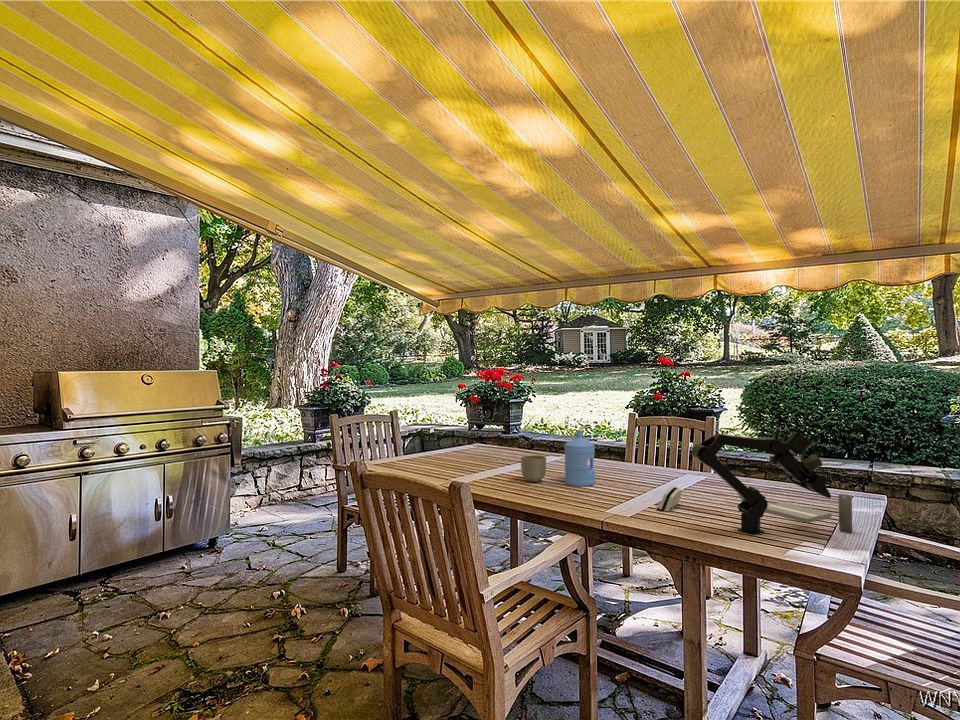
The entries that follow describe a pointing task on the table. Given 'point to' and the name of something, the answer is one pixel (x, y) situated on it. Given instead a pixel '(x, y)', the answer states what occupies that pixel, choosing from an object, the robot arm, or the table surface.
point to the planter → (533, 467)
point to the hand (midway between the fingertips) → (822, 494)
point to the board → (796, 512)
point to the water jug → (579, 461)
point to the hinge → (670, 499)
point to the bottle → (845, 512)
